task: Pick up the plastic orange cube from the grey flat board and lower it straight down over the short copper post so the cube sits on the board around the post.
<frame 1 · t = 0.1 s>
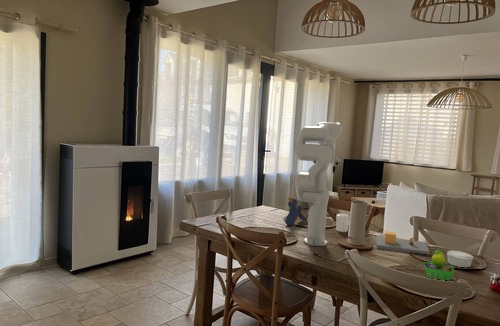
hand: (325, 171, 223), 37 cm above the table, tool pointing down, fingers open, 9 cm apart
ramekin: (458, 265, 181), on the table
orange cube: (389, 241, 206), point 2 cm above the table, touching grey flat board
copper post: (411, 244, 203), resting on grey flat board
grey flat board: (401, 246, 204), on the table
fruit basket: (437, 277, 164), on the table
white cup: (341, 230, 231), on the table
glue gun: (296, 223, 244), on the table
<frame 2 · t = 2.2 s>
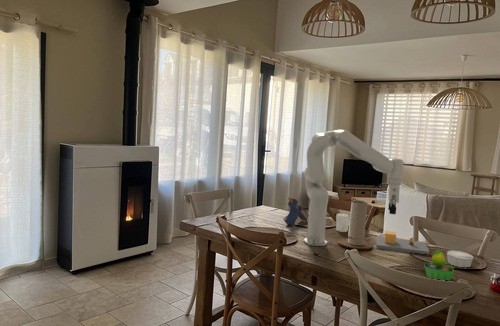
hand: (391, 212, 204), 19 cm above the table, tool pointing down, fingers open, 9 cm apart
nothing on the table moved.
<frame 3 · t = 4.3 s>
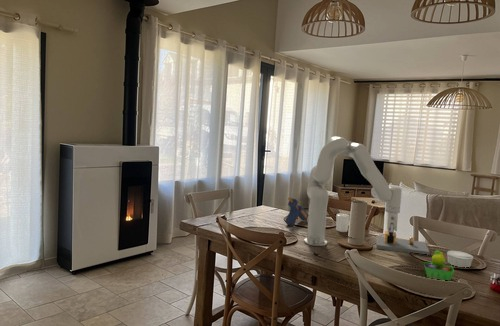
hand: (389, 240, 206), 3 cm above the table, tool pointing down, fingers closed on orange cube, 5 cm apart
orange cube: (389, 241, 206), point 2 cm above the table, touching grey flat board, gripper
everything else where it was.
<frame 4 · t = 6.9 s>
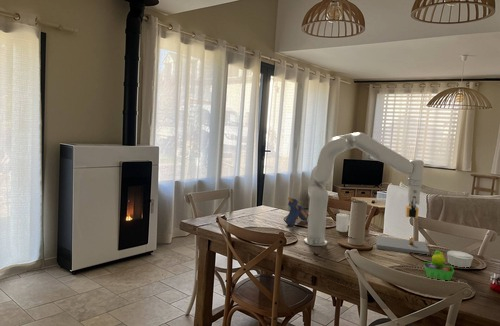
hand: (411, 215, 201), 18 cm above the table, tool pointing down, fingers closed on orange cube, 5 cm apart
orange cube: (411, 216, 201), point 18 cm above the table, touching gripper
everything else where it was.
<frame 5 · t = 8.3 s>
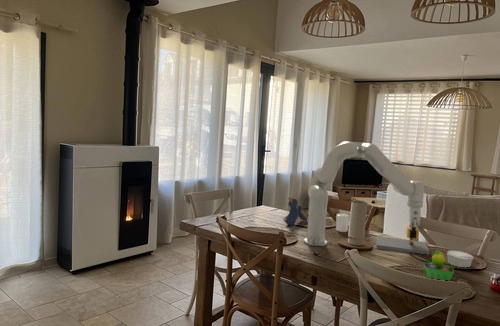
hand: (412, 235, 202), 7 cm above the table, tool pointing down, fingers closed on orange cube, 5 cm apart
orange cube: (412, 236, 202), point 6 cm above the table, touching gripper
everything else where it was.
when the fingers open (4 cm above the table, at t = 9.3 s): orange cube drops 1 cm, resting on grey flat board.
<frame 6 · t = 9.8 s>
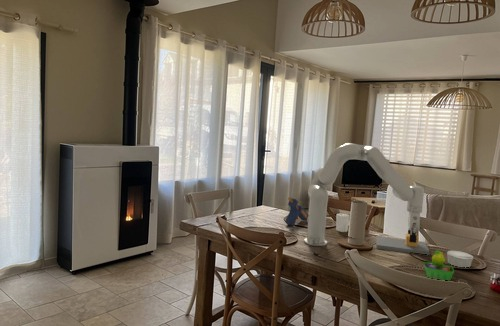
hand: (411, 239, 202), 5 cm above the table, tool pointing down, fingers open, 9 cm apart
orange cube: (411, 244, 203), point 2 cm above the table, touching grey flat board
everything else where it was.
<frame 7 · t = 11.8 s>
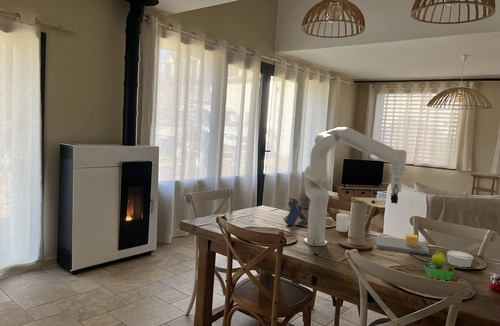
hand: (393, 201, 209), 24 cm above the table, tool pointing down, fingers open, 9 cm apart
nothing on the table moved.
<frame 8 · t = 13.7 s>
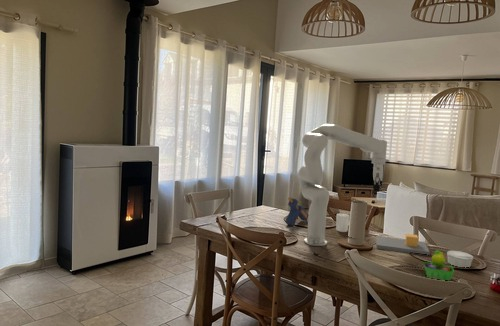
hand: (376, 190, 217), 28 cm above the table, tool pointing down, fingers open, 9 cm apart
nothing on the table moved.
at the end: orange cube 0.1 cm off-centre on the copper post, point 0.0 cm above the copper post's base; orange cube tilted 0°; the gripper is holding nothing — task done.
